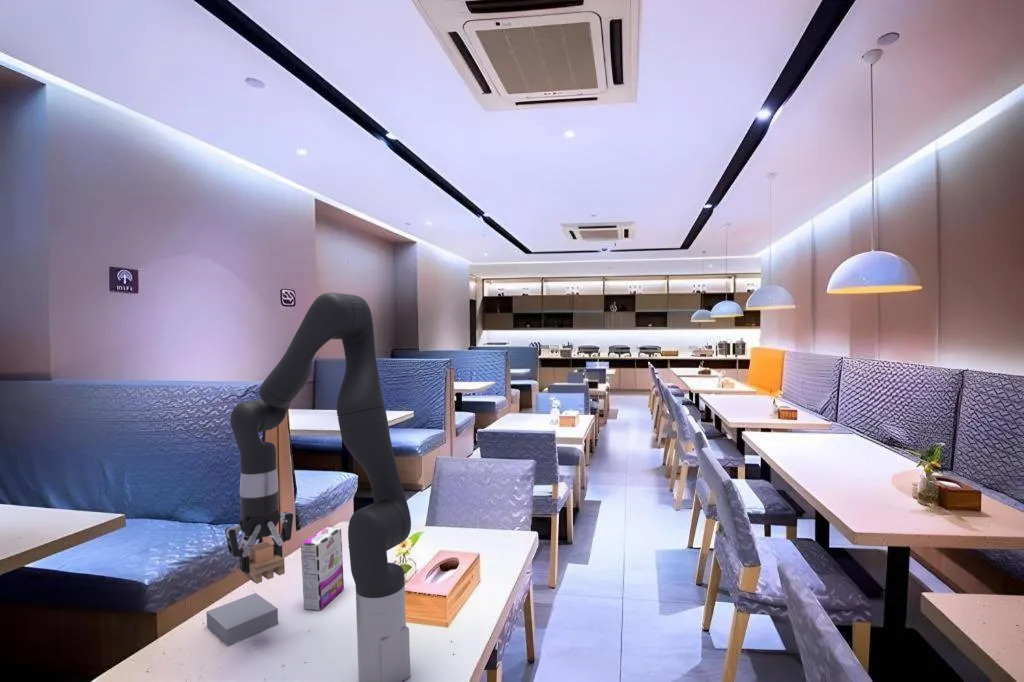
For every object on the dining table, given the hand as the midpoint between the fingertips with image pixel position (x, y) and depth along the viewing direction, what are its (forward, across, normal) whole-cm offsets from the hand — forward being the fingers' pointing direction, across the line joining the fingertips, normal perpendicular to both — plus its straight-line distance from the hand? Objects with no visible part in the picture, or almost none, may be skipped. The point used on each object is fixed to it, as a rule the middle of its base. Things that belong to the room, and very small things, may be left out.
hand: (261, 566), depth 114 cm
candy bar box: (+16, +17, +6) cm, 24 cm away
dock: (+16, -1, +10) cm, 19 cm away
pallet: (+1, 0, 0) cm, 1 cm away
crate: (-2, 0, 0) cm, 2 cm away
